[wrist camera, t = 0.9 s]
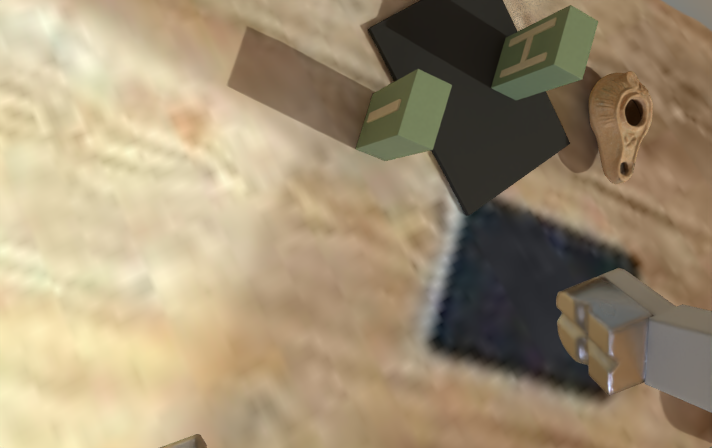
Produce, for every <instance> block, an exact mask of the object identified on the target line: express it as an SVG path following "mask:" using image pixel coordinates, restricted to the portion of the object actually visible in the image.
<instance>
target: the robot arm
mask: <svg viewBox="0 0 712 448" xmlns="http://www.w3.org/2000/svg"><path fill="white" fill-rule="evenodd" d="M556 303H557V308H558V309H560V310H561V311H562V312H563V313H562V314H561V316H560V318H559V320H558V322H557V324H558V334H559V336H560V339H561V341H562V344H563V346H564V347H565V349H566V350H567V352H568V353H569V354H570V355H571V357H572V358H573V359H574V360H575V361H577V362H580V363H583V364H586V365H589V375H590V376H591V377H592V378H593V379H594V380H595V381H596V382H597V383H598V385H599V386H600V387H601V388H602V389H603V390H604V391H605V392H606V393H607V394H608V395H609V396H610V395H613V394H615V393H618V392H620V391H623V390H625V389H628V388H630V387H633V386H636V385H638V384H641V383H643V382H645V384H646V385H649V386H651V387H653V388H656V389H658V390H660V391H663V392H665V393H667V394H669V395H672V396H674V397H676V398H679V399H681V400H683V401H686V402H688V403H690V404H693V405H695V406H697V407H700V408H702V409H704V410H707V411H709V412H711V413H712V311H709V310H704V309H700V308H696V307H691V306H687V305H680V306H677V307H676V306H675V305H673V304H672V303H671V302H669V301H668V300H666V299H665V298H663V297H662V296H661V295H659V294H658V293H656V292H655V291H654V290H652V289H651V288H649V287H648V286H647V285H645V284H644V283H642V282H641V281H640V280H638V279H637V278H635V277H634V276H633V275H631V274H630V273H628V272H627V271H626V270H624V269H620V268H617V269H615V270H612V271H610V272H607V273H605V274H602V275H600V276H598V277H595V278H593V279H590V280H588V281H585V282H583V283H580V284H578V285H575V286H573V287H570V288H568V289H565V290H563V291H560V292H558V295H557V297H556ZM160 448H207V445H206V443H205V442H204V440H203V438H202V437H201V435H199V434H196V435H193V436H190V437H188V438H185V439H182V440H179V441H177V442H174V443H171V444H168V445H166V446H163V447H160ZM710 448H712V447H710Z"/></svg>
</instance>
